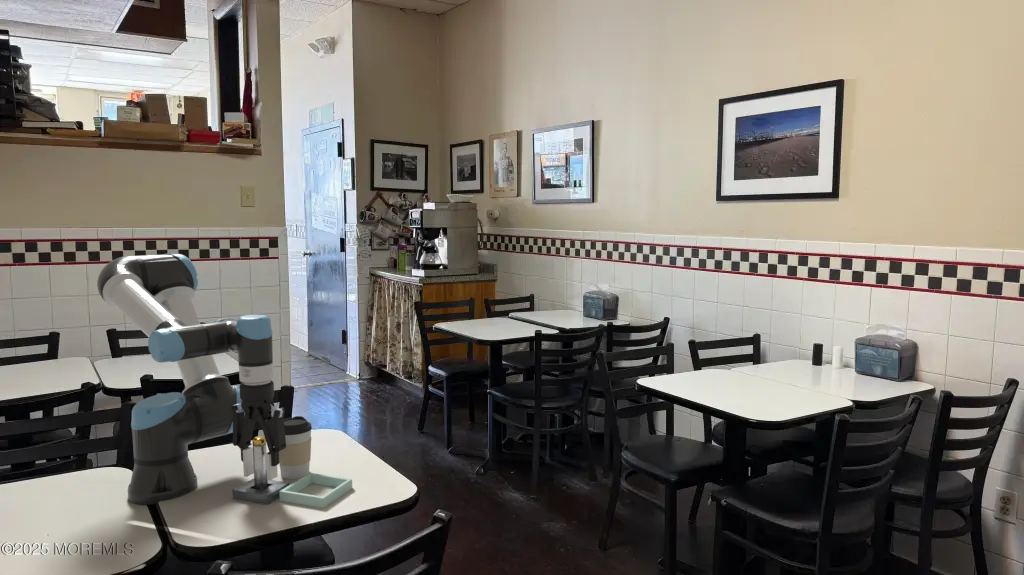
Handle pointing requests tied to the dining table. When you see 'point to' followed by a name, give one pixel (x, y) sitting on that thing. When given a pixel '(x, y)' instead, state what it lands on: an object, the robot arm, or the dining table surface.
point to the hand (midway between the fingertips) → (260, 476)
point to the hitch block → (259, 492)
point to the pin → (260, 463)
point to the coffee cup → (296, 448)
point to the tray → (292, 496)
